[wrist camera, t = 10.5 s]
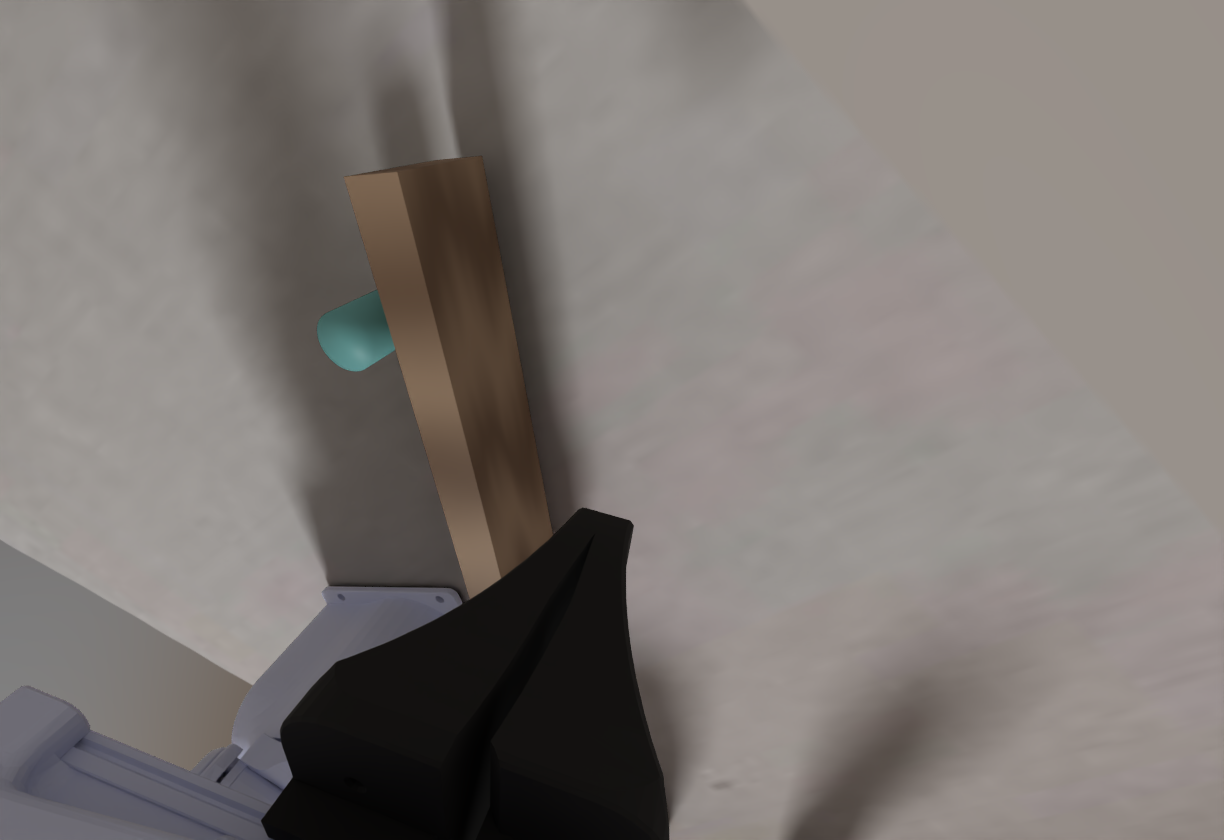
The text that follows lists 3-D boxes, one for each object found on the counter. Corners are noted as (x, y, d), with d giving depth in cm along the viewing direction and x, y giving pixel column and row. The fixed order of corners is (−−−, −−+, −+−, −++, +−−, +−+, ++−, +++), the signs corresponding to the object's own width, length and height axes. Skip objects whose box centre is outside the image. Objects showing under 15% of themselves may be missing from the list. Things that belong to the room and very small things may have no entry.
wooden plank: (577, 618, 27) (534, 723, 23) (532, 611, 28) (482, 712, 24) (496, 154, 18) (391, 174, 13) (430, 160, 18) (308, 181, 14)
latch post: (420, 323, 22) (335, 375, 18) (400, 274, 22) (306, 317, 17) (462, 315, 22) (383, 367, 18) (442, 264, 21) (355, 305, 17)
